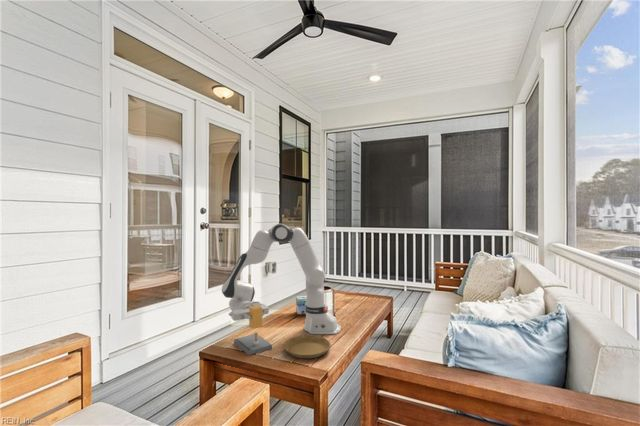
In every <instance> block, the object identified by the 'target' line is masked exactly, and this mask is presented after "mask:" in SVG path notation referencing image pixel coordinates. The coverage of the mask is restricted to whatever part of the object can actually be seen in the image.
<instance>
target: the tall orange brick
mask: <svg viewBox="0 0 640 426" xmlns="http://www.w3.org/2000/svg"><path fill="white" fill-rule="evenodd" d="M249 315H252V319H248V321H249V323H248V326H249V327H250V328H252V329H254V330H255V329H259V328H263V316H262V307H260V306H258V305H257V306H252V307H249Z"/></svg>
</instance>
